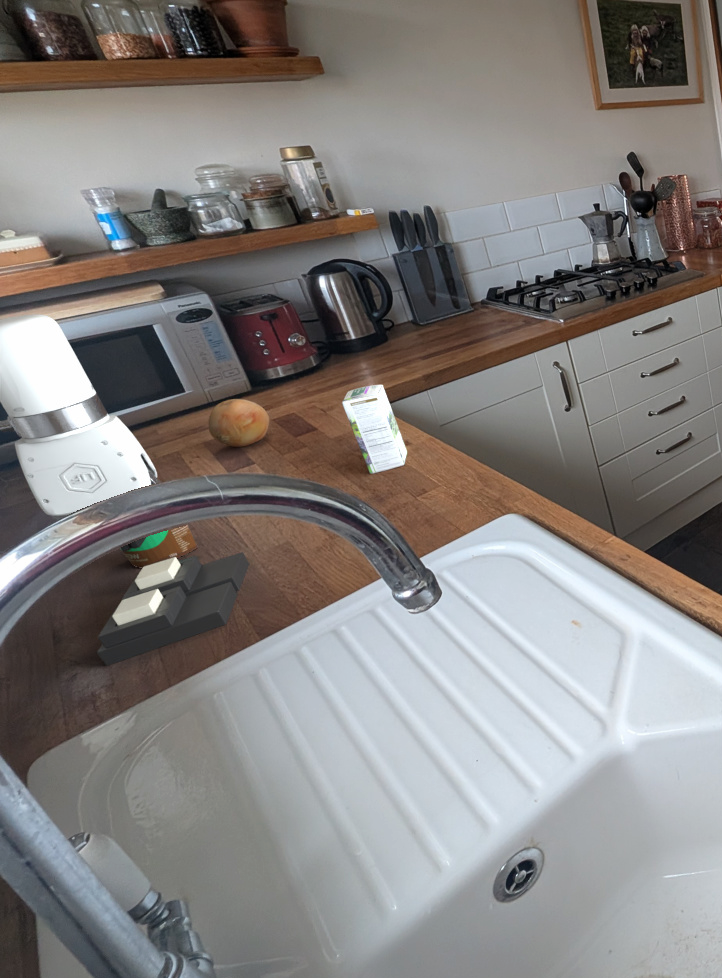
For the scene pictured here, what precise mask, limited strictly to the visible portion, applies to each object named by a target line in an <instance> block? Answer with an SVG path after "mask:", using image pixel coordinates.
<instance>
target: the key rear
mask: <svg viewBox="0 0 722 978" xmlns="http://www.w3.org/2000/svg"><path fill="white" fill-rule="evenodd" d="M181 567H182V566H181V565H180V563H179V559H177V558H176V557H174V558H171V559H167V560H164V561H161V562H158V563H154V564H151V565H148V566H145V567H143V568H142V569H141V570H140V571H139V572H138V573H139V574H138V573H137V574H138V576H137V575H136V576H137V578H136V579H135V578H134V579H135V583H136V584H137V586H138V587H139V589H140V590H141V589H144V588H147V587H150V586H153V585H157V584H160V583H163V582H166V581H169V580H172V579H175V578H176V576H177V574H178V572H179V570H180V569H181Z"/></svg>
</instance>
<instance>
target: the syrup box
mask: <svg viewBox="0 0 722 978" xmlns="http://www.w3.org/2000/svg"><path fill="white" fill-rule="evenodd" d="M341 404H342V408H343V410H344V412H345V414H346V417H347V420H348V422H349V424H350V427H351V430H352V432H353V435H354V436H355V439H356V442H357V445H358V447H359V449H360V452H361V455H362V458H363V460H364V462H365V464H366V468H367V470H368V472H369V474H372V475H373V474H376V473H380V472H385V471H389V470H392V469H395V468H398V467H403V466H405V464H406V460H407V456H408V450H407V447H406V444H405V441H404V438H403V436H402V433H401V431H400V428H399V425H398V423H397V420H396V419H397V418H396V417H395V414H394V412H393V409H392V407H391V403H390V401H389V398H388V396H387V393H386V390H385V388H384V385H383V384H374V385H373V384H372V385H367V386H363V387H362V386H361V387H357V388H354V389H351V390H348V391H347V392H346V394H345V396H344V398H343V400H342V402H341Z"/></svg>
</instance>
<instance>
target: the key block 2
mask: <svg viewBox="0 0 722 978" xmlns="http://www.w3.org/2000/svg"><path fill="white" fill-rule="evenodd" d="M160 593H161V594H162V596H163V598H164V600H163V602H162V604H161V606H160V607H159V609H158V611H157V613H155V614H152V615H149V616H146V617H143V618H140V619H137V620H134V621H131V622H128V623H125V624H122V625H119V626H118V625H117V623H116V622H115V620H114V619H113V617H112V616H113V614H114V613H115V611H116V609H117V608H118V606H119V605H117V606H116V607H115V609H114V611H113V612H112V614H111V615H110V617H109V619H108V620H107V622H106V623H105V625H104V627H102V630H101V631H100V633H99V634H98V636H97V638H98V640H99V641H100V643H101V645H100V646H99V649H98V650H97V651H96V654H97V655H98V656H99V658H100V659H101V661H102V662H103V664H104V665H105V666H106V667H108V666H110V665H114V664H117V663H120V662H122V661H125V660H128V659H131V658H134V657H137V656H140V655H142V654H145V653H148V652H150V651H151V652H152V651H154V650H156V649H157V650H158V649H160V648H163V647H165V646H168V645H171V644H174V643H177V642H180V641H183V640H186V639H189V638H191V637H194V636H197V635H200V634H202V633H206V632H208V631H213V630H214V629H217V628H220V627H223V626H225V625H227V624H228V621H229V619H230V616H231V613H232V610H233V608H234V605H235V603H236V600H237V598H238V595H239V594H238V591H236V590H235V589H234V587H233V585H232V583H231V582H228V583H225V584H222V585H219V586H216V587H213V588H210V589H207V590H204V591H201V592H198V593H195V594H192V595H189V596H186V595H185V593H184V592H183V590H182V588H181V587H180V586H179V587H176V588H173V589H170V590H166V591H163V592H160Z"/></svg>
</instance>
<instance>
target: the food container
mask: <svg viewBox="0 0 722 978" xmlns="http://www.w3.org/2000/svg"><path fill="white" fill-rule="evenodd" d="M196 548H198V549H199V547H198V544H197V542H196V540H195V538H194V535H193V534H192V532H191V529H190V528H189V525H188V524H187V525H186V526H183V527H179V528H174V529H171V530H167V531H163V532H160V533H157V534H154V535H150V536H148V537H146V539H145V540H144V542H143V543H142V545H141V546H140V547H139V548H135V549H134V548H131V549H130V550H128V551H125V552H123V551H122V549H121V548H119V550H120V551H121V552H122V553H123V555H124V556H125V557H126V559H127V560H128V561H129V562H130V564H131V565H132V566H133V565H135V566H137V567H145V566H148V565H151V564H154V563H158V562H161V561H164V560H167V559H171V558H174V557H176V558H179V557H180V556H183V555H185V554H187V553H189V552H191V551H192V550H194V549H196ZM196 550H197V549H196ZM191 553H192V552H191ZM189 554H190V553H189ZM187 555H188V554H187ZM185 556H186V555H185ZM183 557H184V556H183ZM179 559H180V558H179Z"/></svg>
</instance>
